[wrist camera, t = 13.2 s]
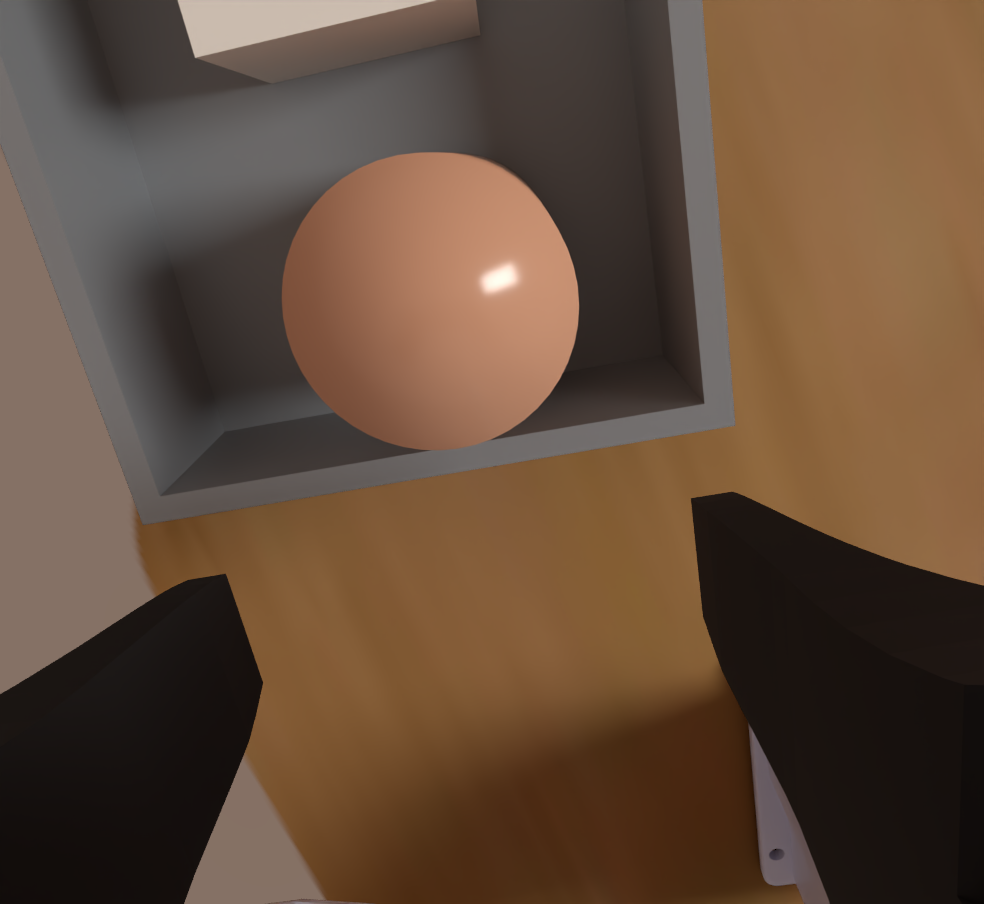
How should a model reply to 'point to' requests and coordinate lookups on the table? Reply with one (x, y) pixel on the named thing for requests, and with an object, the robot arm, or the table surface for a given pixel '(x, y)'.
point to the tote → (304, 180)
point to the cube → (319, 32)
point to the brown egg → (431, 300)
